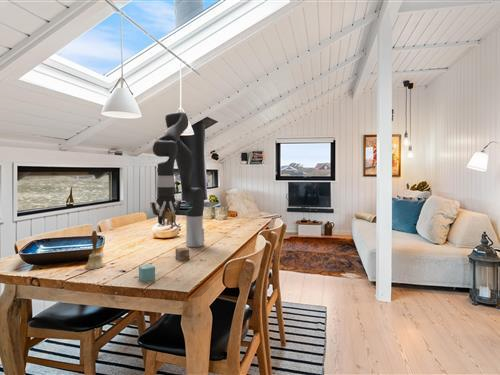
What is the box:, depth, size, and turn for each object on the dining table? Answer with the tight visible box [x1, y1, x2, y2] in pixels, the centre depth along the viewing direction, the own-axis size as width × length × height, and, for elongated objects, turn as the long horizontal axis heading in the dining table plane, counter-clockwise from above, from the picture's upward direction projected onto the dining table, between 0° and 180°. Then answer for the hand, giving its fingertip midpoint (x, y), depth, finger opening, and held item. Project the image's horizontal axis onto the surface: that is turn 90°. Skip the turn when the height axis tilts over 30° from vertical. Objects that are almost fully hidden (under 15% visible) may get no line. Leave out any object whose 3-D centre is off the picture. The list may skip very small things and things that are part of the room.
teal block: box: [138, 263, 156, 282], centre depth 124 cm, size 5×5×5 cm
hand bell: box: [84, 230, 106, 270], centre depth 139 cm, size 8×8×16 cm
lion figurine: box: [156, 207, 180, 229], centre depth 138 cm, size 15×5×9 cm, turn 50°
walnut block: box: [175, 247, 190, 262], centre depth 151 cm, size 5×5×5 cm
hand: (166, 223), depth 140 cm, fingers closed on lion figurine, 4 cm apart
